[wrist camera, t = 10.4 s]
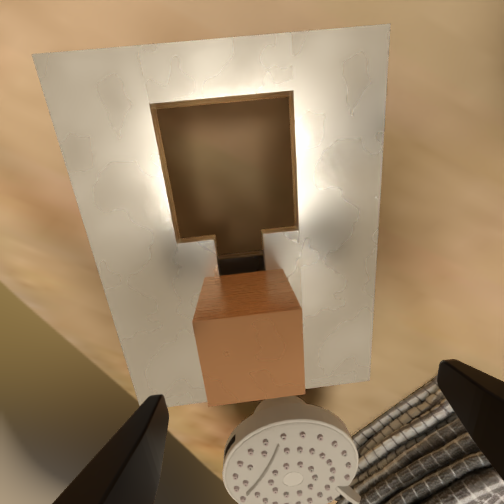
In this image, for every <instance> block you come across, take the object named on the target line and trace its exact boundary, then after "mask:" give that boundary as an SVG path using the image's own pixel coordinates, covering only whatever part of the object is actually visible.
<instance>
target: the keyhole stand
mask: <svg viewBox="0 0 504 504" xmlns="http://www.w3.org/2000/svg"><path fill="white" fill-rule="evenodd" d="M389 40H390V24H381V25H369V26H358V27H346V28H334V29H323V30H311V31H299V32H287V33H276V34H264V35H252V36H241V37H229V38H217V39H206V40H194V41H182V42H170V43H159V44H147V45H135V46H124V47H112V48H100V49H88V50H77V51H65V52H53V53H42V54H32V57H33V61H34V64H35V67H36V70H37V74H38V77H39V80H40V83H41V87H42V90H43V93H44V96H45V100H46V103H47V106H48V109H49V113H50V116H51V119H52V122H53V126H54V129H55V132H56V135H57V139H58V142H59V145H60V148H61V152H62V155H63V158H64V161H65V165H66V168H67V171H68V174H69V178H70V181H71V184H72V187H73V191H74V194H75V197H76V200H77V204H78V207H79V210H80V213H81V217H82V220H83V223H84V226H85V230H86V233H87V236H88V239H89V243H90V246H91V249H92V252H93V256H94V259H95V262H96V265H97V269H98V272H99V275H100V278H101V282H102V285H103V288H104V291H105V295H106V298H107V301H108V304H109V308H110V311H111V314H112V317H113V321H114V324H115V327H116V330H117V334H118V337H119V340H120V343H121V347H122V350H123V353H124V356H125V360H126V363H127V366H128V369H129V373H130V376H131V379H132V382H133V386H134V389H135V392H136V395H137V399H138V402H139V405H141V404H142V403H143V402H144V401H145V400H146V399H147V398H148V397H149V396H150V395H156V394H163V395H164V397H165V401H166V405H167V407H172V406H179V405H187V404H195V403H202V402H207V397H206V392H205V386H204V381H203V376H202V371H201V366H200V361H199V356H198V350H197V345H196V340H195V335H194V330H193V325H192V320H193V317H194V313H195V310H196V306H197V303H198V299H199V295H200V292H201V288H202V285H203V281H204V278H205V277H214V276H221V270H220V264H219V257H218V250H217V243H216V236H215V235H207V236H198V237H189V238H181V237H180V232H179V227H178V221H177V216H176V211H175V206H174V200H173V195H172V190H171V185H170V179H169V174H168V169H167V164H166V158H165V153H164V148H163V143H162V137H161V132H160V127H159V122H158V116H157V111H156V109H164V108H175V107H186V106H197V105H207V104H218V103H229V102H239V101H250V100H261V99H271V98H282V97H289V114H290V135H291V157H292V179H293V201H294V222H295V226H289V227H280V228H270V229H261V237H262V248H263V260H264V271H267V270H276V269H283V271H284V273H285V275H286V277H287V279H288V281H289V283H290V285H291V287H292V289H293V291H294V293H295V295H296V297H297V300H298V302H299V304H300V306H301V308H302V318H303V344H304V370H305V389H309V388H317V387H324V386H332V385H340V384H347V383H355V382H362V381H370V365H371V348H372V331H373V314H374V297H375V280H376V263H377V245H378V228H379V211H380V194H381V177H382V160H383V143H384V126H385V109H386V92H387V75H388V57H389Z"/></svg>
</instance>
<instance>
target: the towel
mask: <svg viewBox="0 0 504 504" xmlns="http://www.w3.org/2000/svg"><path fill="white" fill-rule="evenodd" d="M351 438H352V440H353V442H354V444H355V446H356V448H357V452H358V458H359V460H358V468H357V471H356V475H355V477H354V478H353V480H352V482H351V484H350V485H349V486H350V487H351V488H352V489H353V490H354V491H355V492H357V493H358V494H359V495H360V496H361V500H360V503H359V504H504V481H503V480H502V478H501V477H500V476H499V474H498V473H497V472H496V470H495V469H494V468H493V466H492V465H491V464H490V462H489V461H488V460H487V458H486V457H485V456H484V454H483V453H482V452H481V450H480V449H479V448H478V446H477V445H476V444H475V442H474V441H473V440H472V438H471V437H470V435H469V434H468V432H467V431H466V429H465V428H464V426H463V425H462V423H461V421H460V420H459V418H458V417H457V415H456V414H455V412H454V411H453V409H452V407H451V406H450V404H449V403H448V401H447V400H446V398H445V396H444V395H443V393H442V392H441V390H440V389H439V387H438V384H437V376H436V377H435V378H433V380H432V381H430V382H428V383H426V384H425V385H424V386H423V387H422V388H420V389H418V390H417V391H415V392H414V393H413V394H411V395H409V396H408V397H407V398H405V399H404V400H402V401H400V402H399V403H398V404H396V405H395V406H394V407H392V408H391V409H389V410H388V411H387V412H385V413H384V414H383V415H381V416H380V417H378V418H377V419H376V420H374V421H373V422H372V423H370V424H369V425H367V426H366V427H364V428H363V429H361V430H360V431H359V432H358V433H356V434H355V435H354V436H352V437H351ZM334 500H336V501H338V502H337V503H336V504H352V503H351V502H350V501H348V500H347V499H346V498H344V497H343V496H342V495H341V494H340V495H339V496H338V497H337V498H335V499H334Z"/></svg>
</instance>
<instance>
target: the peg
mask: <svg viewBox="0 0 504 504" xmlns="http://www.w3.org/2000/svg"><path fill="white" fill-rule="evenodd" d="M218 257H219V264H220V270H221V276H214V277H205V278H204V281H203V285H202V288H201V292H200V295H199V299H198V303H197V306H196V310H195V313H194V317H193V320H192V325H193V330H194V335H195V340H196V345H197V350H198V356H199V361H200V366H201V371H202V376H203V381H204V386H205V392H206V397H207V402H208V407H211V406H218V405H226V404H234V403H241V402H249V401H257V400H264V399H272V398H280V397H287V396H295V395H303V394H305V370H304V344H303V318H302V308H301V306H300V304H299V302H298V300H297V297H296V295H295V293H294V291H293V289H292V287H291V285H290V283H289V281H288V279H287V277H286V275H285V273H284V271H283V269H276V270H267V271H264V260H263V250H257V251H248V252H239V253H230V254H221V255H218Z"/></svg>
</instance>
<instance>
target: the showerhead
mask: <svg viewBox="0 0 504 504" xmlns="http://www.w3.org/2000/svg"><path fill="white" fill-rule="evenodd" d="M358 460H359V458H358V452H357V448H356V446H355V444H354V442H353V440H352V438H351V436H350V434H349V432H348V430H347V428H346V426H345V424H344V423H343V421H342V420H341V419H340V418H339V417H337V416H336V415H335V414H333V413H332V412H330V411H329V410H326V409H324V408H322V407H318V406H315V405H311V404H306V403H305V402H304V401H303V400H302V399H300V398H299V397H297V396H287V397H280V398H272V399H265V400H263V401H262V402H261V403H260V404H259V405H258V406H257V408H256V409H255V411H254V414H253V415H251V416H249V417H248V418H246V419H245V420H244V421H242V422H241V423H240V424H239V425H238V426H237V427H236V428H235V429H234V431H233V432H232V433H231V435H230V436H229V438H228V440H227V443H226V446H225V450H224V462H223V481H224V485H225V487H226V489H227V491H228V493H229V494H230V495H231V496H232V498H234V500H235V501H237V502H238V503H239V504H327V503H329V502H332V501H333V500H334V499H335V498H337V497H338V496H339V495H340V494H341V495H342V496H343V497H344V498H346V499H347V500H348V501H350V502H351V503H352V504H359V503H360V500H361V496H360V495H359V494H358V493H357V492H355V491H354V490H353V489H352V488H351V487H350V486H349V485H350V484H351V482H352V480H353V478H354V477H355V475H356V471H357V468H358Z"/></svg>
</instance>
